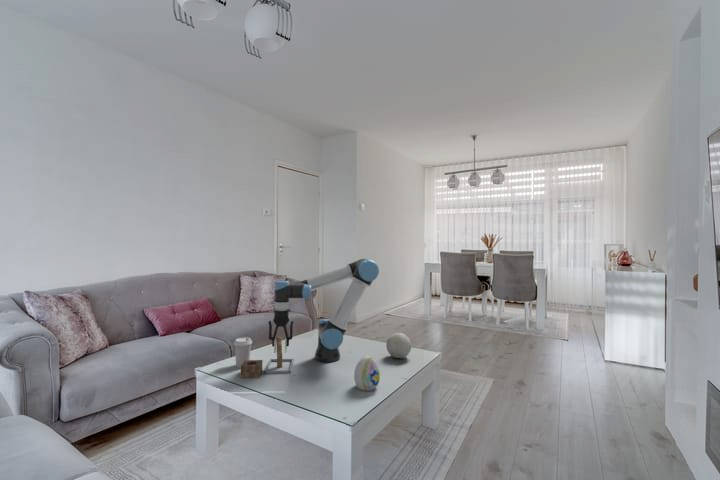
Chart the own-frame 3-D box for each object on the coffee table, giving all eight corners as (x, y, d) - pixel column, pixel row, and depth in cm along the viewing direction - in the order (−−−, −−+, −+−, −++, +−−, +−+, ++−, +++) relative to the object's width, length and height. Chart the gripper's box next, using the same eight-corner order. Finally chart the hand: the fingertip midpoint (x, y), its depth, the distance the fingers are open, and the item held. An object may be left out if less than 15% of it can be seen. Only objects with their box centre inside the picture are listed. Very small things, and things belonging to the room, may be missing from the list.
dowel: (282, 366, 188) (282, 336, 189) (282, 367, 186) (281, 338, 186) (277, 366, 188) (276, 337, 188) (276, 368, 185) (276, 338, 185)
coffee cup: (245, 371, 182) (246, 342, 182) (229, 369, 184) (230, 341, 184) (254, 365, 191) (255, 337, 191) (239, 363, 193) (240, 336, 193)
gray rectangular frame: (293, 362, 197) (293, 358, 197) (290, 374, 178) (290, 370, 178) (270, 362, 196) (270, 358, 196) (264, 375, 177) (264, 371, 177)
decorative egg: (368, 395, 156) (369, 362, 156) (348, 387, 164) (349, 356, 164) (384, 387, 166) (385, 356, 166) (365, 380, 174) (365, 350, 174)
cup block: (262, 372, 180) (262, 359, 181) (259, 379, 172) (259, 366, 172) (244, 372, 179) (244, 360, 180) (240, 379, 171) (240, 366, 171)
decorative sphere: (385, 361, 203) (386, 335, 203) (386, 353, 218) (387, 329, 218) (411, 362, 201) (411, 337, 201) (410, 354, 216) (411, 330, 216)
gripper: (298, 308, 192) (297, 350, 192) (265, 307, 190) (264, 350, 190) (297, 310, 185) (296, 354, 184) (263, 310, 183) (262, 354, 182)
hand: (280, 352), depth 187 cm, fingers open, 5 cm apart
